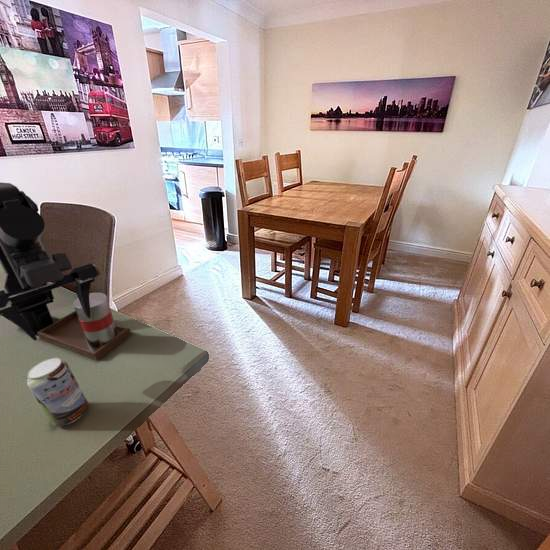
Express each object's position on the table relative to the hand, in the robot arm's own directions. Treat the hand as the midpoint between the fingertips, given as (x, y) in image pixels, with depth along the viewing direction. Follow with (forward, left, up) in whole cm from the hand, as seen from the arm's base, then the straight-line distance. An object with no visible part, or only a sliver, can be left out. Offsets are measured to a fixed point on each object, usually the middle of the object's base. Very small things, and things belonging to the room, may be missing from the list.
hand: (63, 328), depth 58 cm
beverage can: (+5, -7, -13) cm, 16 cm away
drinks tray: (-11, +10, -13) cm, 20 cm away
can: (-5, +10, -13) cm, 17 cm away
